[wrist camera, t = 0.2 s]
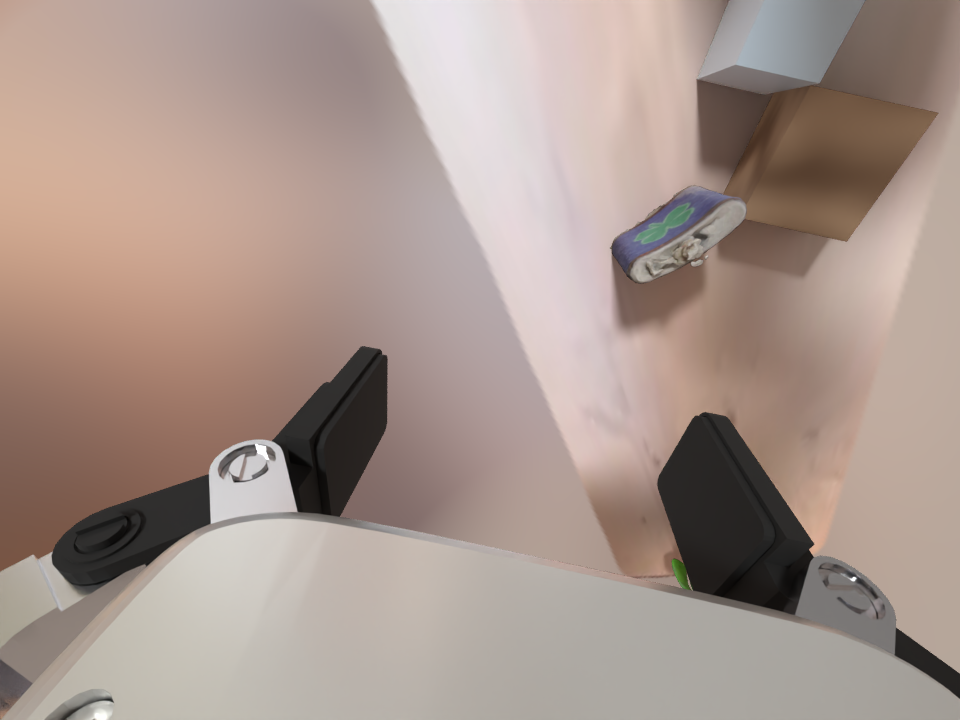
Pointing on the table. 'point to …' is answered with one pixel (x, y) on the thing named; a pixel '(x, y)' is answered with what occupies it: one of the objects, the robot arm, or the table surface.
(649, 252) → the clover trinket box
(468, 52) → the table surface
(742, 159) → the block
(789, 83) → the pale blue cube
